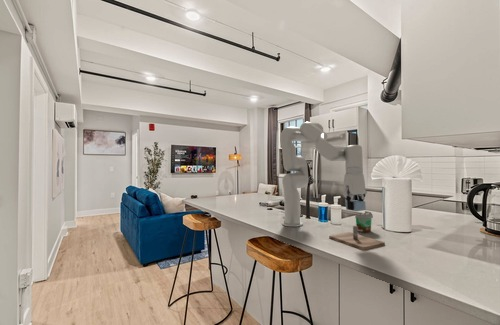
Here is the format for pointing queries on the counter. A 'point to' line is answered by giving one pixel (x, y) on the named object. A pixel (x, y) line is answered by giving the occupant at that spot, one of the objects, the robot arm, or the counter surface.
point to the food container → (364, 222)
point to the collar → (358, 205)
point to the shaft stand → (357, 240)
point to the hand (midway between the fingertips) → (355, 208)
